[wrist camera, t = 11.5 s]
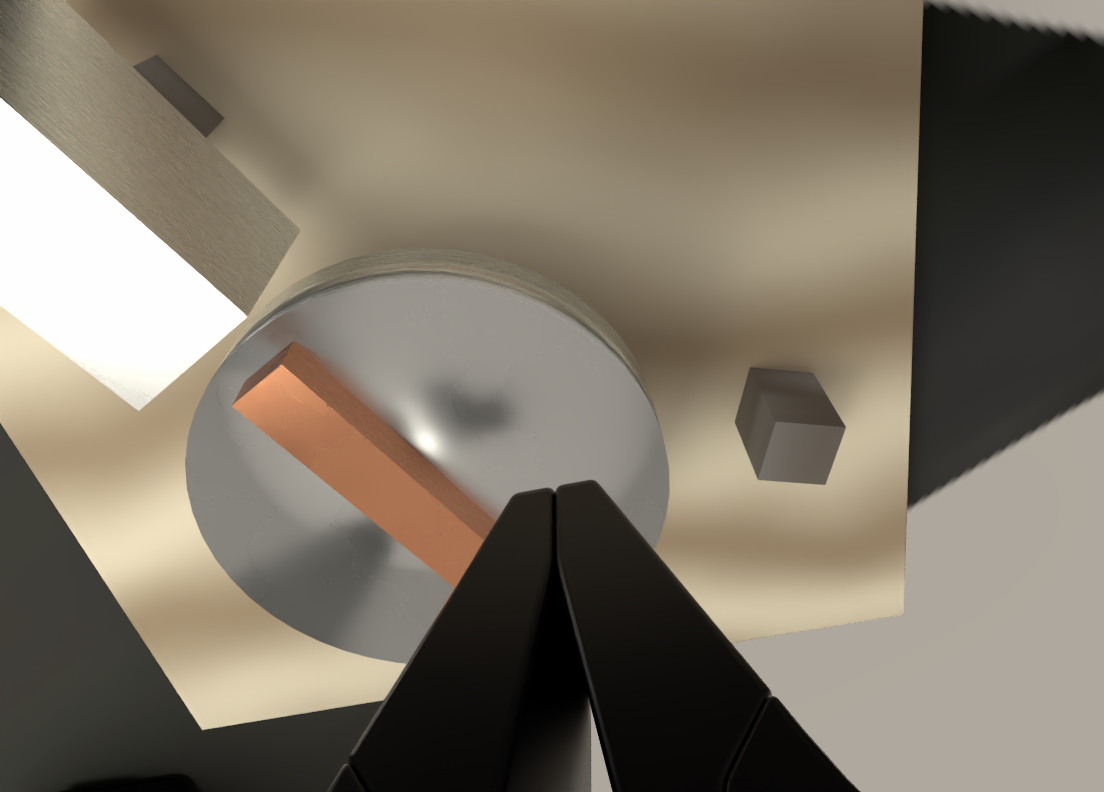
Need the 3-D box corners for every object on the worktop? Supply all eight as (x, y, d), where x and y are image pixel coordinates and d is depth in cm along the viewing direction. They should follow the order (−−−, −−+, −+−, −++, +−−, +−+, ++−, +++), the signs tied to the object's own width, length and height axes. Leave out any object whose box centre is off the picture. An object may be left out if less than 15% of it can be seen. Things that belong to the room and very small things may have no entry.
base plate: (884, 579, 26) (952, 707, 22) (216, 691, 28) (164, 830, 24) (898, -313, 15) (1042, -386, 11) (-235, -38, 16) (-481, -10, 12)
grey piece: (737, 461, 18) (780, 576, 15) (431, 652, 21) (416, 781, 18) (132, -237, 12) (-1, -276, 9) (-199, 176, 14) (-387, 256, 11)
